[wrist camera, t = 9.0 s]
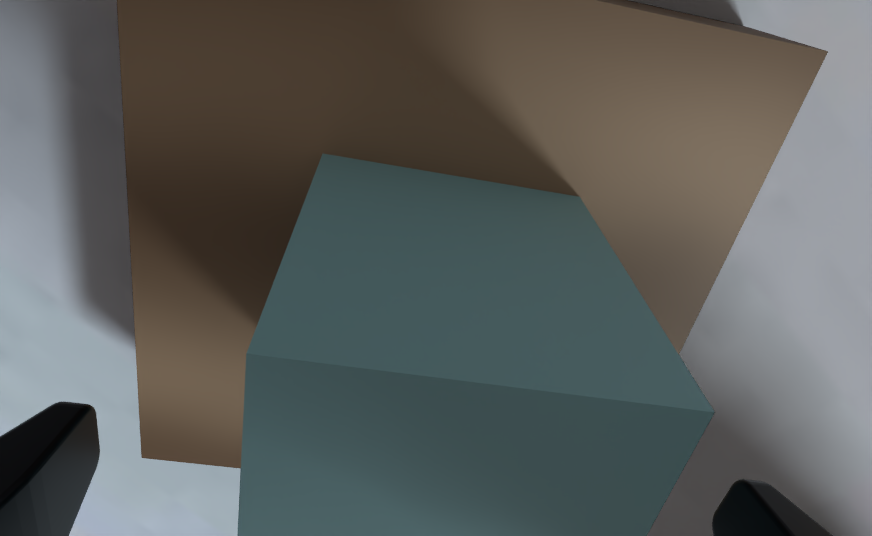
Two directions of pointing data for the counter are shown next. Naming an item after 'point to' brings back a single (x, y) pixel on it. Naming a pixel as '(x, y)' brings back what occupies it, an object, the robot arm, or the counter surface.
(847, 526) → the counter surface
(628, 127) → the walnut base
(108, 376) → the counter surface
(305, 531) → the teal block
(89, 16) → the counter surface
